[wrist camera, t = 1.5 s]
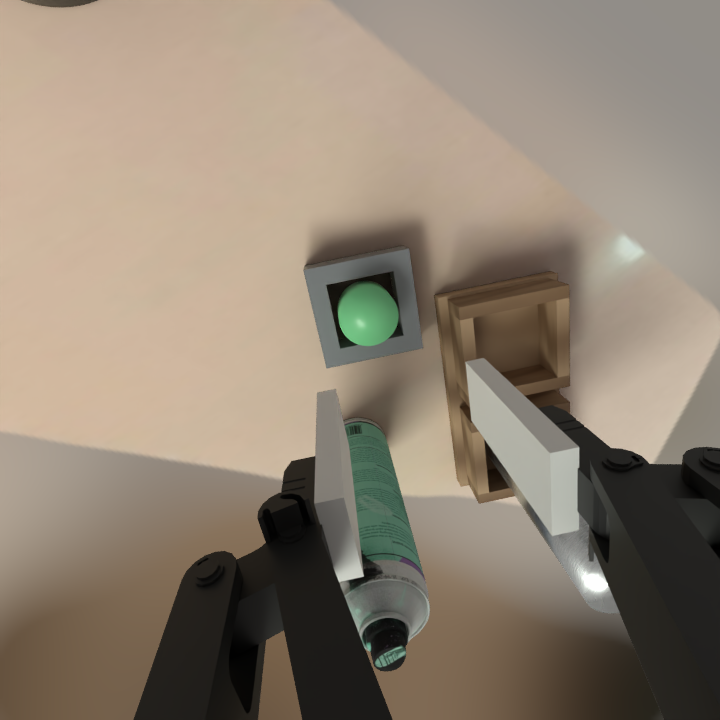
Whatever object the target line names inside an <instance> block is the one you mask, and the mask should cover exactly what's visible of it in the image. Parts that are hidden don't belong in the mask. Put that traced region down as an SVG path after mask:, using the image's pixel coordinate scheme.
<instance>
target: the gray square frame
mask: <svg viewBox="0 0 720 720" xmlns="http://www.w3.org/2000/svg"><path fill="white" fill-rule="evenodd" d="M387 272H390V278H391V284H392V291H393V297H394V301H395V303H396V305H397V308H398V314H399V317H398V327H396V329H395V331H394V332H393V334H392V335H391V336H390V337H389V338H388V339H387V340H385V341H384V342H382V343H380V344H378V345H374V346H362V345H358V344H356V343H354V342H352V341H350V340H349V339H348V338H343V339H339V338H338V333H337V328H336V324H335V319H334V315H333V310H332V306H331V301H330V296H329V292H328V287H327V285H328V284H333V283H338V282H343V281H348V280H353V279H357V278H362V277H367V276H372V275H377V274H382V273H387ZM304 275H305V279H306V283H307V287H308V292H309V296H310V300H311V304H312V309H313V313H314V317H315V321H316V325H317V330H318V334H319V338H320V342H321V347H322V351H323V355H324V359H325V363H326V368H331V367H336V366H340V365H345V364H350V363H355V362H360V361H364V360H369V359H374V358H379V357H384V356H388V355H393V354H398V353H403V352H408V351H412V350H417V349H422V348H423V343H422V336H421V329H420V322H419V315H418V308H417V301H416V294H415V287H414V280H413V273H412V266H411V259H410V252H409V248H407V247H405V246H399V247H394V248H389V249H384V250H379V251H374V252H369V253H364V254H360V255H355V256H350V257H345V258H340V259H335V260H330V261H325V262H321V263H316V264H311V265H306V266H305V267H304Z"/></svg>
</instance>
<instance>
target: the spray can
mask: <svg viewBox="0 0 720 720" xmlns="http://www.w3.org/2000/svg"><path fill="white" fill-rule="evenodd" d="M343 422H344V426H345V431H346V435H347V439H348V444H349V449H350V458H351V467H352V476H353V485H354V494H355V503H356V512H357V521H358V530H359V539H360V547H361V556H362V565H363V574H364V577H360V578H355V579H351V580H346V581H341V582H339V583H340V586H341V589H342V591H343V594H344V596H345V599H346V601H347V604H348V607H349V609H350V612H351V614H352V617H353V619H354V622H355V625H356V627H357V630H358V632H359V635H360V637H361V640H362V643H363V645H364V648H365V649H366V650H368V651H370V652H371V656H372V660H373V664H374V666H375V667H376V668H377V669H379V670H380V671H392V670H395V669H397V668H399V667H400V666H401V665H402V664H403V662H404V660H405V657H406V648H405V647H406V645H407V643H408V642H409V640H410V639H411V638H413V637H414V636H415V635H416V634H418V633H419V632H420V630H422V628H423V627H424V626H425V624H426V622H427V620H428V617H429V614H430V605H429V600H428V590H427V586H426V582H425V578H424V575H423V571H422V567H421V564H420V560H419V557H418V553H417V549H416V546H415V542H414V539H413V535H412V531H411V527H410V524H409V521H408V517H407V513H406V510H405V506H404V502H403V498H402V495H401V491H400V487H399V484H398V480H397V477H396V473H395V469H394V466H393V462H392V458H391V455H390V451H389V447H388V444H387V440H386V437H385V434H384V432H383V430H382V429H381V427H380V426H379V425H378V424H377V423H375V422H373V421H372V420H369V419H366V418H351V419H348V420H345V421H343Z"/></svg>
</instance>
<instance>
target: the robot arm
mask: <svg viewBox="0 0 720 720" xmlns="http://www.w3.org/2000/svg"><path fill="white" fill-rule="evenodd" d="M22 1H25V2H28V3H32V4H36V5H41V6H49V7H73V6H80V5H84V4H88V3H91V2H94V1H97V0H22ZM465 363H466V372H467V382H468V392H469V402H470V411H471V421H472V422H473V423H474V425H475V426H476V428H477V429H478V431H479V432H480V433H481V435H482V436H483V438H484V439H485V441H486V442H487V443H488V445H489V446H490V448H491V449H492V451H493V452H494V453H495V455H496V456H497V458H498V459H499V461H500V462H501V463H502V465H503V466H504V468H505V469H506V471H507V472H508V473H509V475H510V476H511V478H512V479H513V481H514V482H515V484H516V485H517V486H518V488H519V489H520V491H521V492H522V494H523V495H524V496H525V498H526V499H527V501H528V502H529V504H530V505H531V506H532V508H533V509H534V511H535V512H536V514H537V515H538V516H539V518H540V519H541V521H542V522H543V524H544V525H545V526H546V528H547V529H548V531H549V532H550V534H551V535H552V536H554V535H559V534H563V533H568V532H573V531H577V530H579V514H580V515H581V516H582V517H583V519H584V520H585V521H586V522H587V523H588V525H589V542H588V556H589V562H594V553H595V555H596V557H597V559H598V562H599V564H600V567H601V569H602V571H603V574H604V576H605V579H606V581H607V583H608V586H609V588H610V591H611V593H612V595H613V598H614V600H615V603H616V605H617V607H618V610H619V612H620V615H621V617H622V620H623V622H624V624H625V627H626V629H627V631H628V634H629V636H630V639H631V641H632V644H633V646H634V648H635V651H636V653H637V655H638V658H639V660H640V663H641V665H642V668H643V670H644V672H645V675H646V677H647V679H648V682H649V685H650V687H651V689H652V692H653V694H654V697H655V699H656V701H657V704H658V706H659V709H660V711H661V713H662V716H663V718H664V720H720V448H712V447H699V448H693V449H690V450H688V451H686V452H685V454H684V455H683V460H682V461H683V462H682V465H680V464H678V465H677V464H675V465H673V464H669V465H668V464H667V465H666V464H658V465H657V464H649V463H648V462H647V461H646V460H645V459H644V458H643V457H642V456H640V455H638V454H636V453H634V452H632V451H628V450H624V449H616V448H610V447H609V446H608V445H606V444H605V443H604V442H603V441H602V440H600V439H599V438H598V437H597V436H596V435H595V434H593V433H592V432H591V431H590V430H589V429H587V428H586V427H584V425H583V424H581V423H580V422H579V421H576V419H575V418H574V417H573V416H572V415H571V414H569V413H568V412H567V411H565V410H563V409H560V408H558V407H555V406H553V405H550V406H545V407H540V408H537V407H536V406H535V405H534V404H533V403H532V402H530V401H529V400H528V399H527V398H526V397H525V396H524V395H523V394H522V393H521V392H520V391H519V390H518V389H517V388H515V387H514V386H513V385H512V384H511V383H510V382H509V381H508V380H507V379H506V378H505V377H504V376H503V375H502V374H501V373H499V372H498V371H497V370H496V369H495V368H494V367H493V366H492V365H491V364H490V363H489V362H488V361H487V360H486V359H484V358H481V359H476V360H471V361H467V362H465ZM258 521H259V524H260V527H261V530H262V533H263V535H264V538H265V541H266V543H265V544H264V545H263V546H262V547H260V548H259V549H257V550H255V551H254V552H252V553H250V554H248V555H246V556H243V557H241V558H239V559H237V560H236V558H235V557H234V556H233V555H232V553H228V552H226V551H221V552H214V553H211V554H208V555H206V556H204V557H202V558H201V559H199V560H198V561H196V562H195V563H194V564H193V565H192V566H191V567H190V568H189V569H188V570H187V571H186V573H185V575H184V577H183V579H182V581H181V584H180V587H179V590H178V592H177V596H176V598H175V601H174V604H173V607H172V610H171V613H170V616H169V619H168V622H167V624H166V627H165V630H164V633H163V636H162V639H161V642H160V645H159V648H158V650H157V653H156V656H155V659H154V662H153V665H152V668H151V671H150V674H149V677H148V679H147V683H146V685H145V688H144V691H143V694H142V697H141V700H140V703H139V706H138V709H137V712H136V714H135V717H134V720H258V713H259V703H260V693H261V682H262V673H263V664H264V653H265V644H266V640H267V639H269V638H271V637H272V636H274V635H275V634H278V633H280V632H281V631H283V630H284V632H285V637H286V642H287V647H288V651H289V656H290V661H291V666H292V671H293V675H294V681H295V686H296V690H297V695H298V700H299V705H300V710H301V715H302V720H392V717H391V714H390V712H389V710H388V707H387V704H386V702H385V699H384V697H383V694H382V691H381V689H380V686H379V684H378V681H377V679H376V676H375V673H374V671H373V668H372V666H371V663H370V660H369V658H368V655H367V653H366V650H365V648H364V645H363V643H362V640H361V637H360V635H359V632H358V630H357V627H356V625H355V622H354V619H353V617H352V614H351V612H350V609H349V607H348V604H347V601H346V599H345V596H344V594H343V591H342V589H341V586H340V583H339V582H341V581H346V580H351V579H355V578H360V577H364V574H363V565H362V556H361V547H360V539H359V530H358V521H357V512H356V503H355V494H354V485H353V476H352V467H351V458H350V449H349V444H348V439H347V435H346V431H345V426H344V422H343V418H342V413H341V409H340V405H339V401H338V396H337V392H336V389H333V390H328V391H323V392H319V393H317V418H316V455H315V456H314V457H309V458H304V459H300V460H295V461H291V463H290V464H289V466H288V467H287V469H286V470H285V471H284V477H283V485H282V492H281V493H278V494H276V495H274V496H272V497H271V498H269V499H268V500H267V501H266V502H265V503H263V505H262V506H261V508H260V509H259V511H258Z"/></svg>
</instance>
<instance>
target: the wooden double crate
mask: <svg viewBox="0 0 720 720" xmlns="http://www.w3.org/2000/svg"><path fill="white" fill-rule="evenodd" d="M434 298H435V306H436V314H437V322H438V330H439V338H440V346H441V354H442V362H443V370H444V378H445V386H446V394H447V402H448V410H449V418H450V426H451V434H452V442H453V450H454V458H455V466H456V474H457V480H458V482H459V484H460V486H466V485H470V487H471V489H472V491H473V493H474V495H475V497H476V499H477V501H478V503H484V502H489V501H494V500H499V499H503V498H508V497H513V496H515V495H514V493H513V492H512V490H511V489H510V487H509V486H508V484H507V483H506V481H505V480H504V478H503V477H502V475H501V474H500V472H499V471H498V469H497V468H496V466H495V465H494V463H493V462H492V460H491V459H490V457H489V456H488V454H487V453H486V451H485V443H484V438H483V436H482V435H481V433H480V432H479V431H478V429H477V428H476V426H475V425H474V423H473V422H472V421H471V411H470V402H469V392H468V382H467V372H466V363H465V362H467V361H471V360H476V359H481V358H484V359H486V360H487V361H488V362H489V363H490V364H491V365H492V366H493V367H494V368H495V369H496V370H497V371H498V372H499V373H501V374H502V375H503V376H504V377H505V378H506V379H507V380H508V381H509V382H510V383H511V384H512V385H513V386H514V387H515V388H517V389H518V390H519V391H520V392H521V393H522V394H523V395H524V396H525V397H526V398H527V399H528V400H529V401H530V402H532V403H533V404H534V405H535V406H536V407H537V408H540V407H545V406H550V405H553V406H555V407H558V408H560V409H563V410H565V411H567V412H568V413H569V414H570V402H569V401H568V400H567V399H565V398H564V397H563V396H562V395H560V394H559V388H563V387H568V386H570V320H569V285H568V284H565V283H562V282H559V281H558V273H554V272H551V271H549V272H544V273H539V274H534V275H530V276H525V277H520V278H515V279H510V280H505V281H501V282H496V283H491V284H486V285H481V286H476V287H472V288H467V289H462V290H457V291H452V292H447V293H443V294H438V295H434Z"/></svg>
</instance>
